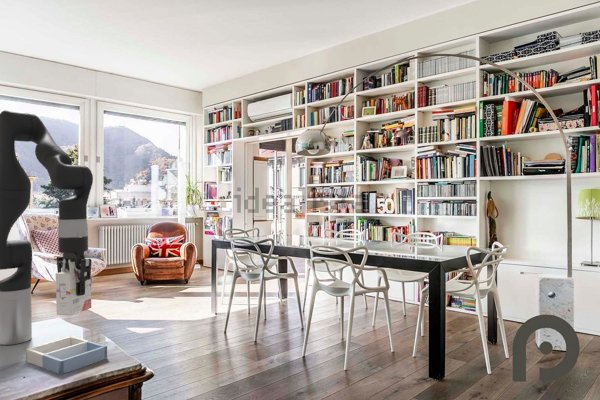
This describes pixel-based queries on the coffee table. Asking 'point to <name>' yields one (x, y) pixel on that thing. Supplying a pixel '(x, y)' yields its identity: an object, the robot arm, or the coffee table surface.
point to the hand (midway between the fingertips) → (74, 293)
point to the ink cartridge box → (71, 293)
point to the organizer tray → (66, 354)
